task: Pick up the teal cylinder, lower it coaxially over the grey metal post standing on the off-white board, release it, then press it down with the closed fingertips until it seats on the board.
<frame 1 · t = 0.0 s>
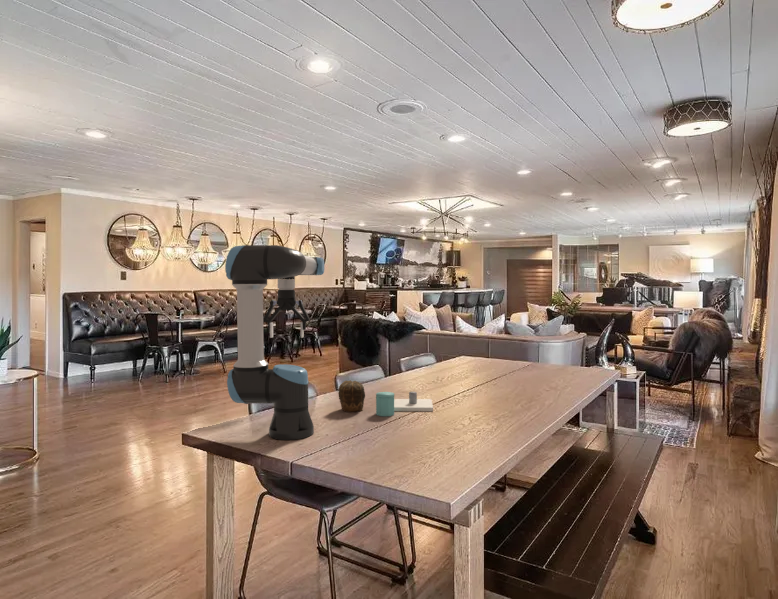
hand: (286, 337, 222), 28 cm above the table, fingers open, 13 cm apart
post board: (413, 406, 211), on the table
teal cylinder: (385, 413, 199), on the table
brown domed block: (351, 410, 206), on the table
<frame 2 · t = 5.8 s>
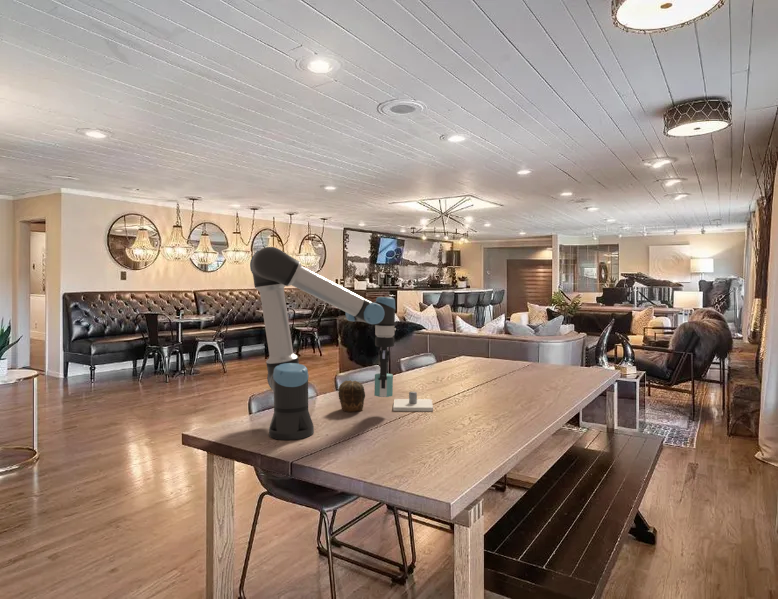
hand: (383, 394, 199), 8 cm above the table, fingers closed on teal cylinder, 7 cm apart
teal cylinder: (383, 395, 199), point 8 cm above the table, touching gripper
everything else where it was.
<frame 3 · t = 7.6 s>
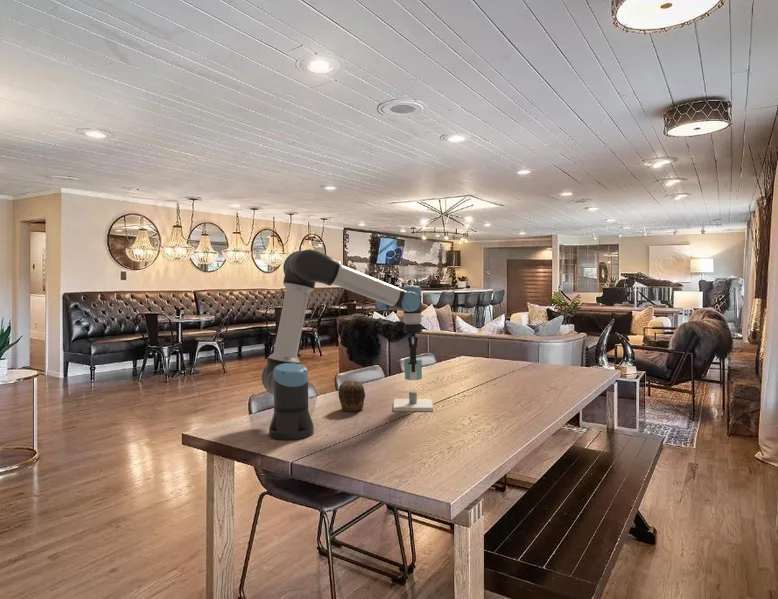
hand: (413, 378, 211), 12 cm above the table, fingers closed on teal cylinder, 7 cm apart
teal cylinder: (413, 378, 211), point 12 cm above the table, touching gripper
everything else where it was.
when the fingers open (2 cm above the table, at t = 9.7 s): teal cylinder stays where it is, resting on post board.
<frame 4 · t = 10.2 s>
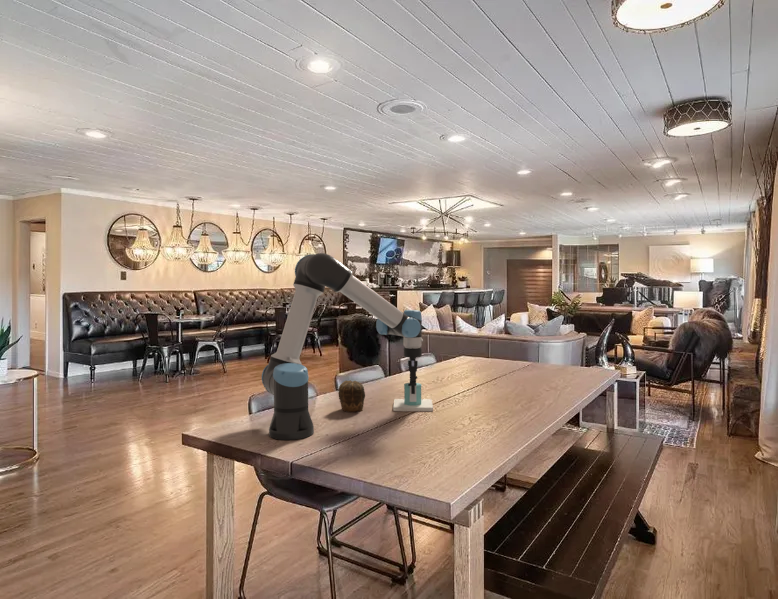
hand: (412, 397, 211), 4 cm above the table, fingers open, 13 cm apart
teal cylinder: (412, 403, 210), point 1 cm above the table, touching post board
everything else where it was.
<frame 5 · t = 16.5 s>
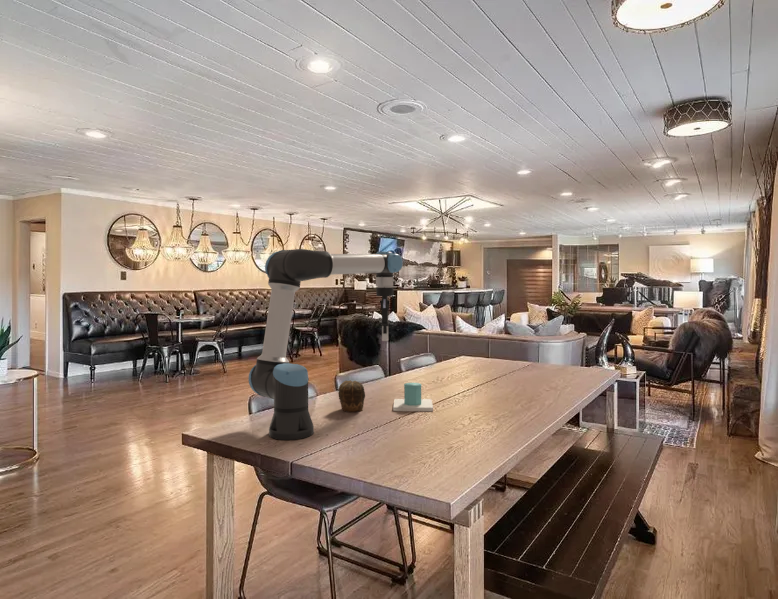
hand: (385, 340, 221), 26 cm above the table, fingers closed
nothing on the table moved.
at the end: teal cylinder 0.6 cm off-centre on the post board, point 1.5 cm above the post board's base; teal cylinder tilted 0°; the gripper is holding nothing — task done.
